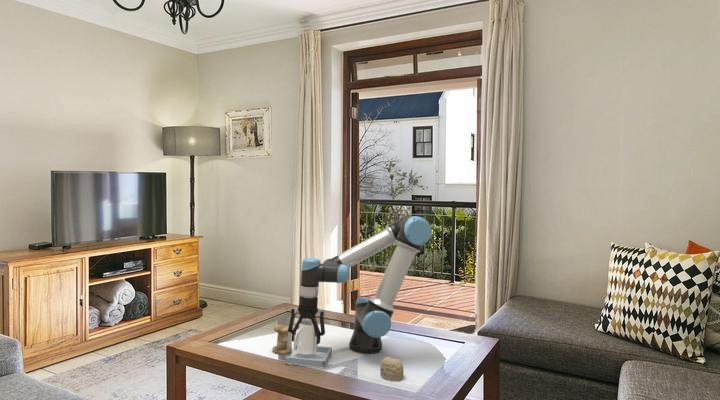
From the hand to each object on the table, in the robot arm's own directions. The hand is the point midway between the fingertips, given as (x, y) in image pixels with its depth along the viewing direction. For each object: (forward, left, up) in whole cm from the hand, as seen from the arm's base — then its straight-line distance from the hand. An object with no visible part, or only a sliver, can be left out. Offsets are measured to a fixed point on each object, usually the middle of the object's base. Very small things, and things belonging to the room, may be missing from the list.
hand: (305, 350), depth 186 cm
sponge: (-36, +8, -4) cm, 37 cm away
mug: (+1, 0, -1) cm, 1 cm away
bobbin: (+12, -6, -4) cm, 14 cm away
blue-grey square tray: (-1, 0, -4) cm, 4 cm away
